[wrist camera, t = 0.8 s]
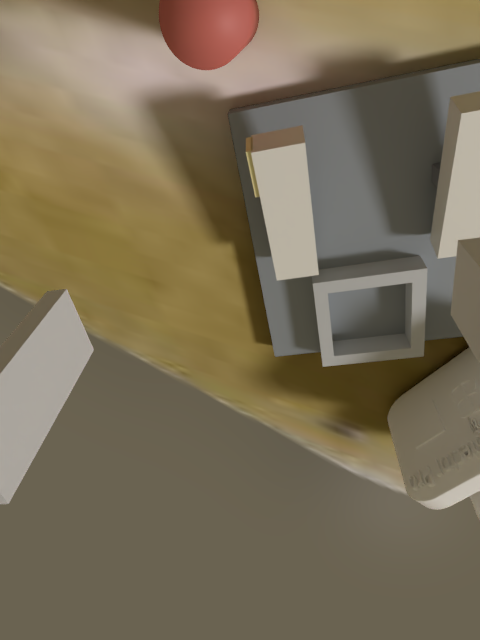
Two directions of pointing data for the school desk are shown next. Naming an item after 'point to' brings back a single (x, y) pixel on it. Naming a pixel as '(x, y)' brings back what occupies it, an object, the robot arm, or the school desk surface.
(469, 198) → the block
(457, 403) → the cable organizer
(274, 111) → the panel
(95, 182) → the school desk surface
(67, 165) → the school desk surface
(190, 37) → the red capsule
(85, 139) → the school desk surface
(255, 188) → the block
